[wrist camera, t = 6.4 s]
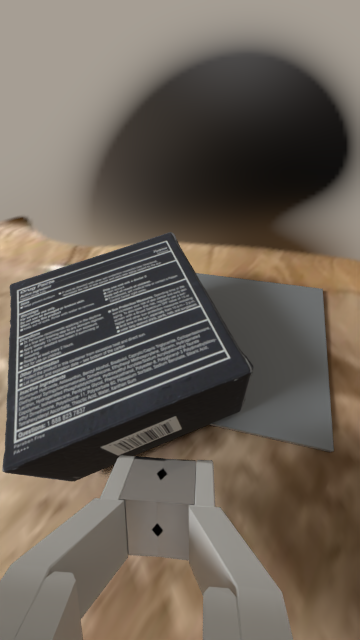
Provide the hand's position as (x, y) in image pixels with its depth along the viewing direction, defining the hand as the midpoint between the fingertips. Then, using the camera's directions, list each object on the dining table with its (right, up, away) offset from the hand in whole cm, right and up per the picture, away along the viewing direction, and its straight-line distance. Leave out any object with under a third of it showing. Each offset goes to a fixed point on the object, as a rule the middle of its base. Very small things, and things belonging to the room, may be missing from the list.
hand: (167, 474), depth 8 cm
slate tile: (+2, +4, +12) cm, 12 cm away
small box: (-1, -1, +4) cm, 4 cm away
